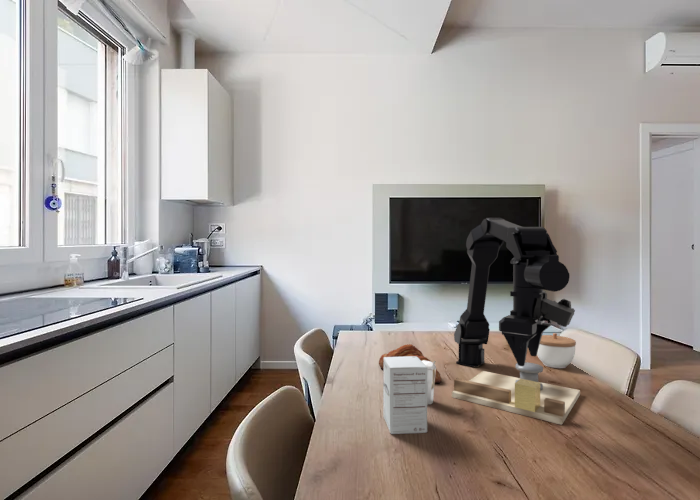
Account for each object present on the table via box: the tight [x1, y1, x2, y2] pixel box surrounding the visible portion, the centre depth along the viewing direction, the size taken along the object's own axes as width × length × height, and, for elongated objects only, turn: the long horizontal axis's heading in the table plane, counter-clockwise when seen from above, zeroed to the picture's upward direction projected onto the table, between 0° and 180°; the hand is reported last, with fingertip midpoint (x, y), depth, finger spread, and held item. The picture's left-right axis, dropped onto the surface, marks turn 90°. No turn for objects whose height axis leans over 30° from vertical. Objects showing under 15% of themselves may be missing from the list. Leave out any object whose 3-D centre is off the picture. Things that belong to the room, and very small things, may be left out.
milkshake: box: [422, 360, 437, 405], centre depth 90 cm, size 4×5×10 cm
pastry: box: [378, 343, 442, 384], centre depth 110 cm, size 17×15×8 cm
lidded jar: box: [536, 332, 577, 369], centre depth 118 cm, size 11×11×9 cm
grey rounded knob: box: [515, 361, 544, 390], centre depth 96 cm, size 6×6×5 cm
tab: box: [515, 379, 540, 412], centre depth 84 cm, size 4×4×5 cm
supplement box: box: [382, 356, 428, 435], centre depth 78 cm, size 7×7×13 cm
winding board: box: [451, 370, 581, 426], centre depth 93 cm, size 23×20×4 cm
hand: (527, 360), depth 84 cm, fingers open, 9 cm apart
